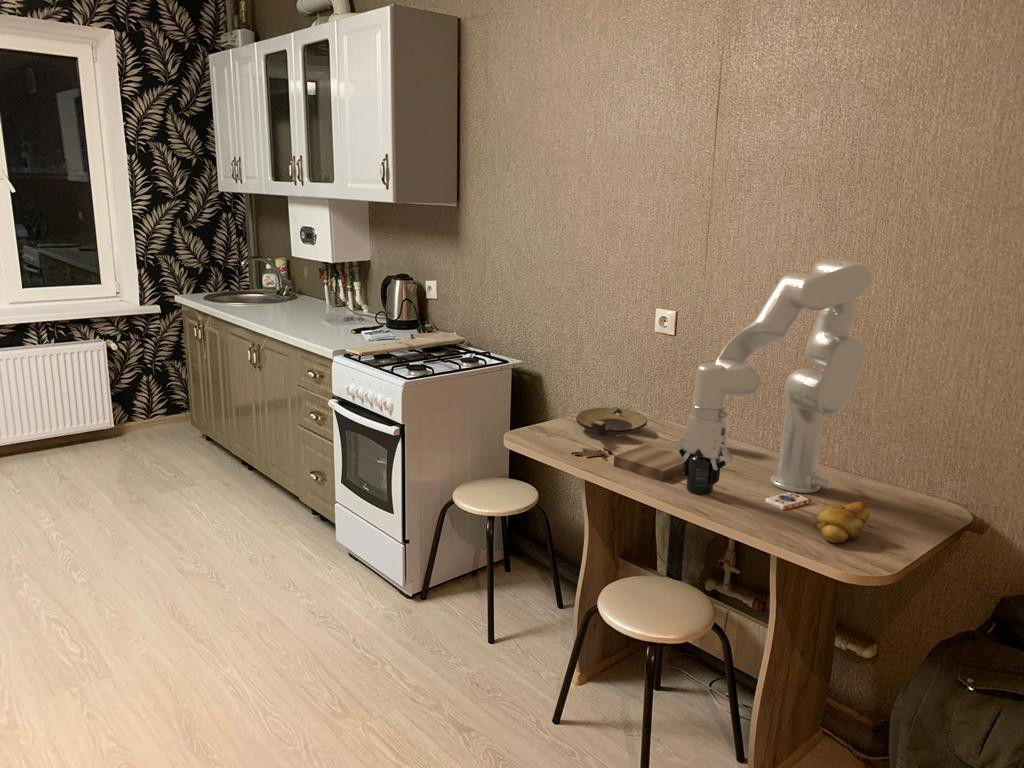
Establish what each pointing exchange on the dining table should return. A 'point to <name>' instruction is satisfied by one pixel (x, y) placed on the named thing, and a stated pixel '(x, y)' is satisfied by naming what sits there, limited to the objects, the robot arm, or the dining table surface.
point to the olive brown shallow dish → (611, 421)
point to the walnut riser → (651, 462)
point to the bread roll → (842, 521)
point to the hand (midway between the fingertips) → (700, 478)
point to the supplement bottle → (699, 474)
